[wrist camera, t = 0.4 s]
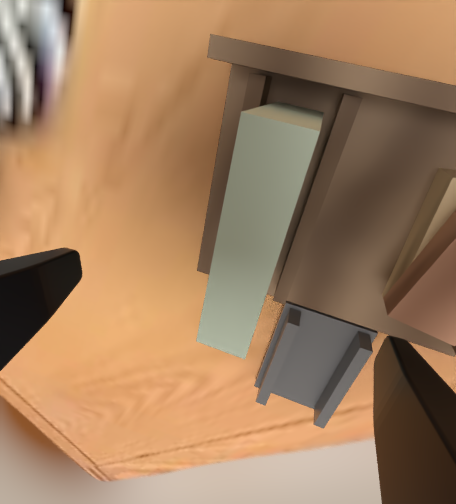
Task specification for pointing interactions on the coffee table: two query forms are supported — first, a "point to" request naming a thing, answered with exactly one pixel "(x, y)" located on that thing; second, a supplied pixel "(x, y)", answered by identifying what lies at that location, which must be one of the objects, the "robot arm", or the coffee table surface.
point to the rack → (342, 175)
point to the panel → (255, 219)
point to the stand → (313, 359)
